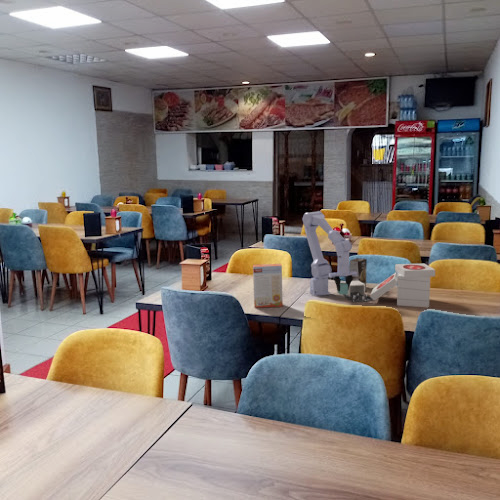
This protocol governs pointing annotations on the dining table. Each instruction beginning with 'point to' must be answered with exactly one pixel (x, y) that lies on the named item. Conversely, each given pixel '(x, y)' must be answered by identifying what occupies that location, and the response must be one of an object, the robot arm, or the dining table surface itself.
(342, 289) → the jaw block
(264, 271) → the cracker box
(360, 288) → the housing cover
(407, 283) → the pizza box stack
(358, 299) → the pin base
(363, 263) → the coffee box
